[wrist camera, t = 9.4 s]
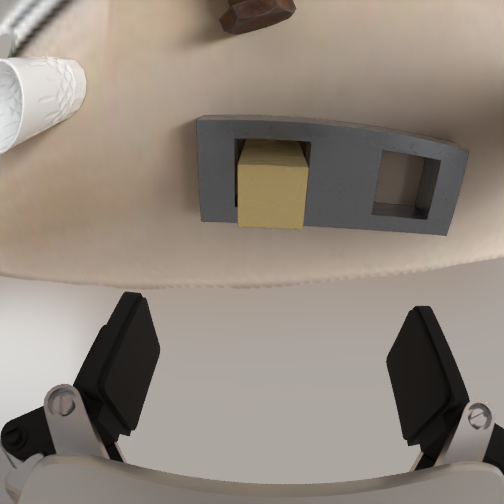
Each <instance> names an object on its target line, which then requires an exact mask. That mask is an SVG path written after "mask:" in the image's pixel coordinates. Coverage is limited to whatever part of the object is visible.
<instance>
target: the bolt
mask: <svg viewBox="0 0 504 504" xmlns="http://www.w3.org/2000/svg"><path fill="white" fill-rule="evenodd" d="M228 2H229V4H230V6H231V8H230V9H229V10H228V11H227V12H226V13H225V14H224V15H223V16H222V17H221V18H220V19H219V21H220V23H221V25H222V27H223V29H224V31H226V32H228V33H232V34H240V33H246V32H250V31H254V30H258V29H261V28H265V27H268V26H271V25H273V24H276V23H279V22H281V21H283V20H286V19H288V18H289V17H291V16H292V14H293V13H294V12H295V10H296V7H295V4H294V2H293V0H228Z"/></svg>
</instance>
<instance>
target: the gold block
mask: <svg viewBox="0 0 504 504" xmlns="http://www.w3.org/2000/svg"><path fill="white" fill-rule="evenodd" d="M308 169H309V167H308V165H307V162H306V160H305V157H304V155H303V152H302V150H301V147H300V145H299V143H298V141H285V140H263V139H246V142H245V145H244V148H243V151H242V154H241V157H240V159H239V162H238V227H261V228H284V229H303V221H304V211H305V202H306V191H307V181H308Z"/></svg>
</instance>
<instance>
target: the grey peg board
mask: <svg viewBox="0 0 504 504" xmlns="http://www.w3.org/2000/svg"><path fill="white" fill-rule="evenodd" d="M196 127H197V155H198V176H199V195H200V211H201V222H230V223H238V138H249V139H276V140H293V141H307V143H306V156H305V160H306V162H307V165H308V167H309V169H308V181H307V191H306V202H305V211H304V221H303V226H317V227H334V228H350V229H365V230H380V231H393V232H406V233H419V234H431V235H443V236H446V235H447V232H448V229H449V226H450V223H451V220H452V217H453V213H454V210H455V206H456V203H457V199H458V196H459V192H460V188H461V184H462V180H463V176H464V172H465V167H466V163H467V158H468V153H469V150H467V149H465V148H463V147H461V146H459V145H457V144H456V143H454V142H450V141H446V140H442V139H438V138H433V137H429V136H425V135H420V134H415V133H410V132H405V131H400V130H394V129H389V128H383V127H377V126H370V125H364V124H356V123H349V122H341V121H332V120H322V119H311V118H299V117H283V116H261V115H204V116H202V117H201V118H199V119H198V120H196ZM382 150H387V151H393V152H399V153H405V154H411V155H417V156H422V157H426V159H425V164H424V169H423V174H422V179H421V183H420V188H419V192H418V196H417V200H416V205H415V207H414V206H405V205H396V204H386V203H376V202H374V197H375V192H376V186H377V181H378V175H379V169H380V163H381V157H382Z"/></svg>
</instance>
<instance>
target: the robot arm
mask: <svg viewBox="0 0 504 504" xmlns="http://www.w3.org/2000/svg"><path fill="white" fill-rule="evenodd" d="M159 354H160V345H159V342H158V338H157V335H156V332H155V328H154V325H153V321H152V318H151V314H150V310H149V307H148V303H147V300H146V298H143V297H142V295H141V293H134V292H125V293H123V295H122V297H121V299H120V300H119V302H118V304H117V306H116V308H115V309H114V312H113V313H112V315H111V317H110V319H109V321H108V323H107V324H106V325H104V326H103V327H102V328H101V329H100V331H99V333H98V335H97V337H96V339H95V341H94V343H93V345H92V347H91V349H90V351H89V353H88V355H87V357H86V359H85V361H84V363H83V365H82V367H81V369H80V371H79V373H78V375H77V378H76V380H75V382H74V384H73V386H71V385H68V384H61V385H57V386H55V387H53V388H52V389H51V390H50V391H49V392H48V393H47V395H46V397H45V399H44V406H42V407H40V408H38V409H35V410H33V411H31V412H29V413H27V414H24V415H22V416H20V417H17V418H15V419H13V420H11V421H9V422H7V423H6V424H5V426H4V427H3V429H2V431H1V439H0V504H504V429H503V428H502V427H500V426H499V425H497V424H495V414H494V411H493V409H492V407H491V406H490V405H489V404H488V403H487V402H486V401H484V400H480V399H475V400H472V401H470V400H469V396H468V393H467V390H466V388H465V385H464V382H463V380H462V377H461V374H460V372H459V369H458V367H457V365H456V362H455V359H454V357H453V355H452V352H451V350H450V348H449V346H448V343H447V341H446V339H445V336H444V334H443V332H442V330H441V327H440V325H439V323H438V321H437V319H436V317H435V315H434V313H433V310H432V309H431V307H430V306H415V307H414V308H413V310H410V311H409V313H408V315H407V317H406V319H405V321H404V324H403V326H402V328H401V330H400V332H399V334H398V336H397V338H396V340H395V342H394V344H393V346H392V348H391V350H390V352H389V354H388V356H387V361H386V363H387V368H388V372H389V376H390V380H391V384H392V388H393V392H394V396H395V400H396V405H397V410H398V415H399V419H400V424H401V429H402V434H403V438H404V439H405V440H407V442H408V446H412V445H417V444H420V448H421V452H420V454H419V455H418V457H417V459H416V461H415V463H414V464H413V466H412V467H411V469H410V471H409V472H407V473H402V474H396V475H391V476H385V477H379V478H372V479H365V480H357V481H347V482H336V483H321V484H255V483H239V482H228V481H219V480H210V479H203V478H196V477H189V476H183V475H178V474H172V473H167V472H162V471H157V470H152V469H148V468H143V467H139V466H135V465H130V464H127V462H126V460H125V458H124V456H123V454H122V452H121V450H120V448H119V446H118V444H117V441H118V437H119V435H120V434H122V435H126V436H130V433H131V430H135V429H136V427H137V424H138V421H139V417H140V414H141V411H142V407H143V404H144V401H145V398H146V395H147V391H148V388H149V385H150V382H151V379H152V376H153V373H154V370H155V367H156V364H157V361H158V358H159Z"/></svg>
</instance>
